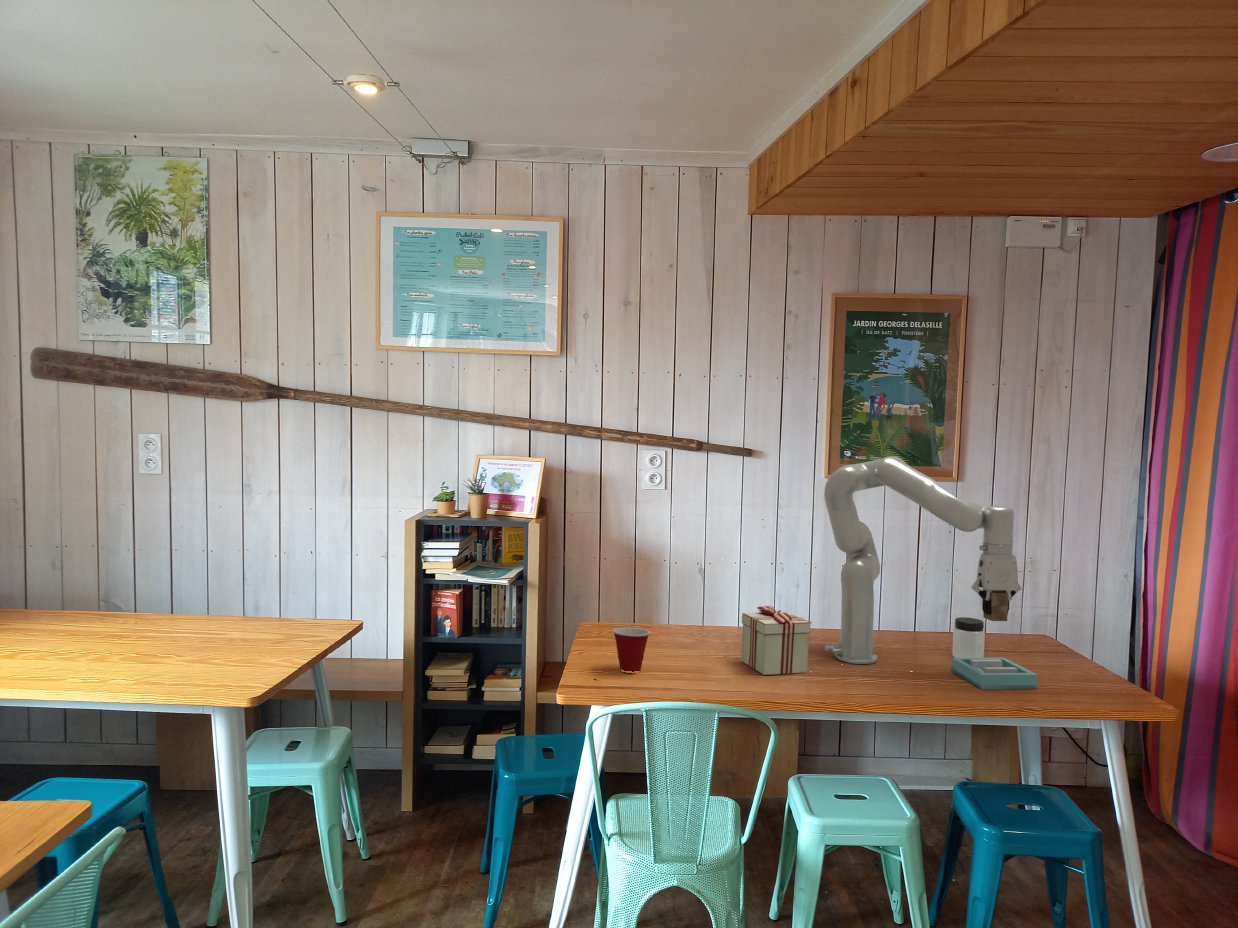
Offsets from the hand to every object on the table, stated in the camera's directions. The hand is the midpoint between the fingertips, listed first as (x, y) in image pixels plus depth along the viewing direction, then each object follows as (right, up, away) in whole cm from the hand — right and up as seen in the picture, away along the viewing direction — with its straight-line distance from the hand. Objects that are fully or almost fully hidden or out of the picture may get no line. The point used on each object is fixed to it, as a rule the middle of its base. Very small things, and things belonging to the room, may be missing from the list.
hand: (995, 612), depth 223 cm
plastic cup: (-104, -18, +3) cm, 105 cm away
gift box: (-60, -18, +10) cm, 64 cm away
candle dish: (0, -19, +1) cm, 19 cm away
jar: (+2, -19, +22) cm, 29 cm away
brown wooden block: (0, -2, 0) cm, 2 cm away
